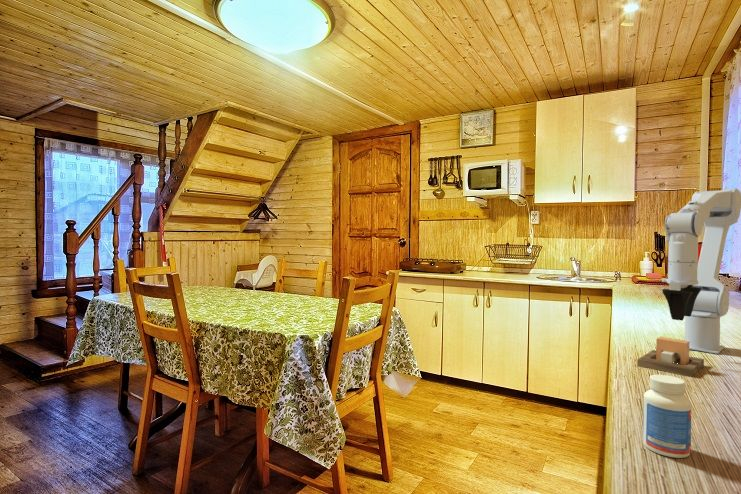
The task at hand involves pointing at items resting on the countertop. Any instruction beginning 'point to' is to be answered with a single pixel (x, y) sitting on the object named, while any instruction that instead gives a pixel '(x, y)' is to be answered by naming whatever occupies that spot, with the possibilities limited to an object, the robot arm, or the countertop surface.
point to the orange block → (673, 348)
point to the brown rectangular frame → (671, 363)
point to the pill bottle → (667, 417)
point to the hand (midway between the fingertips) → (681, 317)
